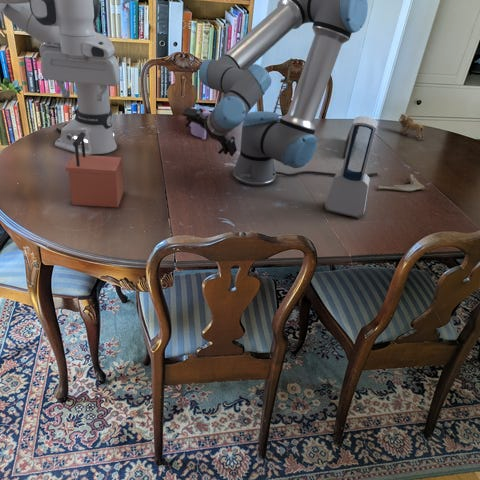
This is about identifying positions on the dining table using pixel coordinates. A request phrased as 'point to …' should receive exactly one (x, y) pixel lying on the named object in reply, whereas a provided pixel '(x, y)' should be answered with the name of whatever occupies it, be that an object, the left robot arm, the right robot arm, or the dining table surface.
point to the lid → (91, 161)
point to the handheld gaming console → (348, 141)
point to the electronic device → (352, 178)
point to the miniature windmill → (285, 81)
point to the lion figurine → (410, 125)
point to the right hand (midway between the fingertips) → (205, 136)
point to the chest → (96, 188)
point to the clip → (196, 128)
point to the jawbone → (405, 186)
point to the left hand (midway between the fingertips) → (83, 98)
